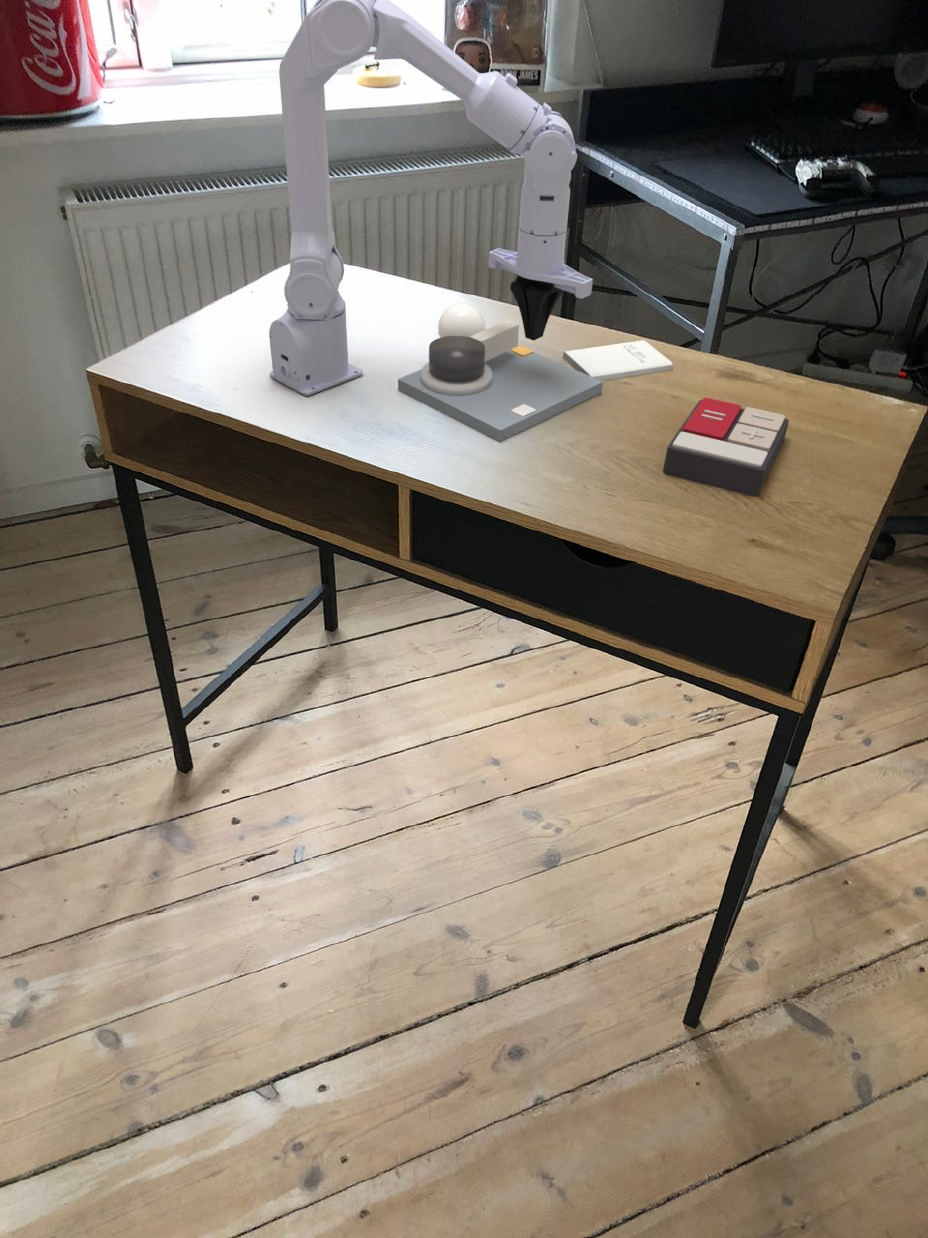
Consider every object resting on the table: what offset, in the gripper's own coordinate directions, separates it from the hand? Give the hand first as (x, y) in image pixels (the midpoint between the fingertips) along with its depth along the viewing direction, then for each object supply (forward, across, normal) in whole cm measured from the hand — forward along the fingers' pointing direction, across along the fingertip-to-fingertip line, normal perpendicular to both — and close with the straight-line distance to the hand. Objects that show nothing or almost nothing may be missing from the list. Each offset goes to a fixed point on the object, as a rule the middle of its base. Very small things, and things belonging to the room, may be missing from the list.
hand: (534, 336), depth 130 cm
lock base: (+6, +1, +5) cm, 8 cm away
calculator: (+7, -28, -1) cm, 29 cm away
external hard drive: (+7, -5, -12) cm, 15 cm away
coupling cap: (+3, +5, +5) cm, 8 cm away
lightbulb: (+5, +19, -6) cm, 20 cm away
